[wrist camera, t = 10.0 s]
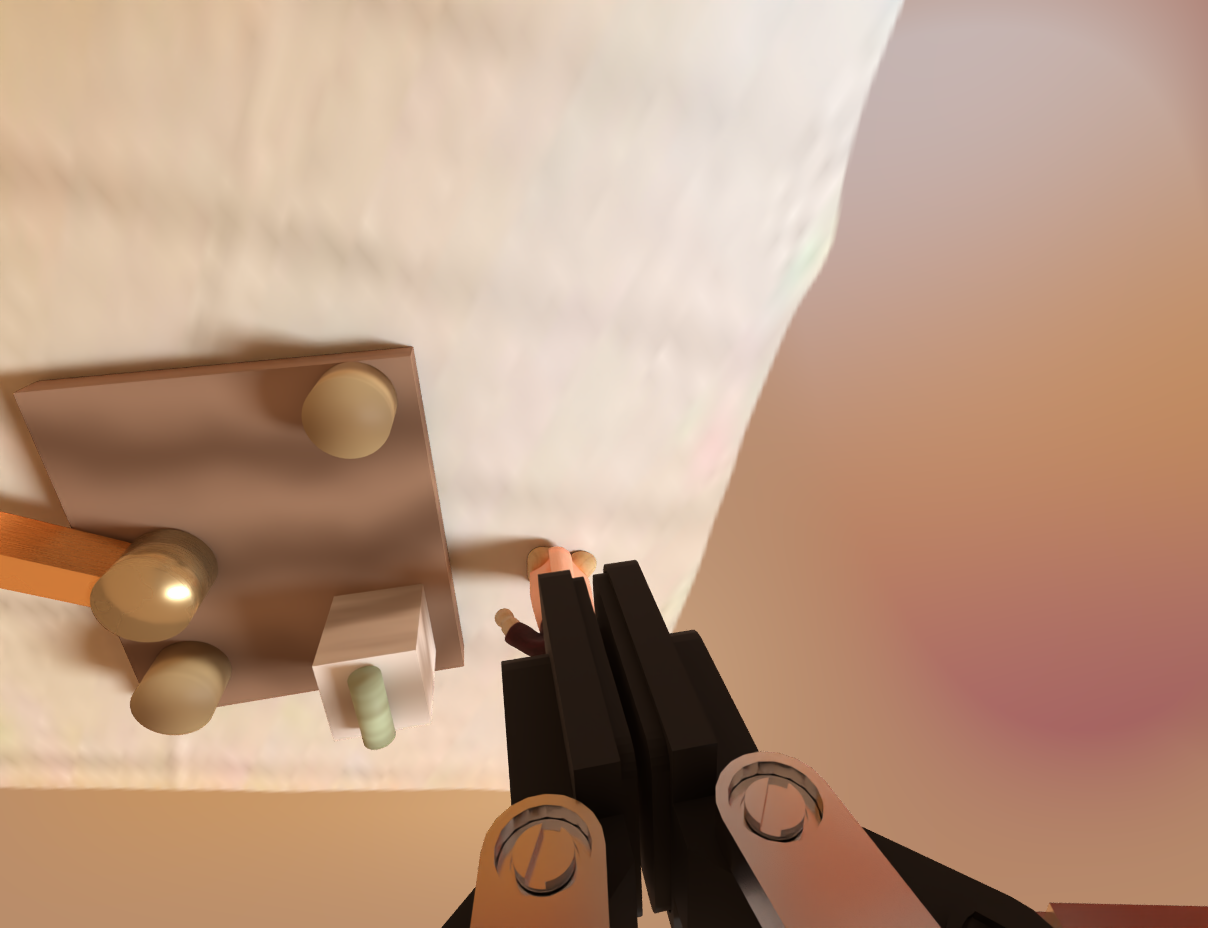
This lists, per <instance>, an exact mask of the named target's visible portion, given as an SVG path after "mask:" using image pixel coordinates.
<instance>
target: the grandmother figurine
mask: <svg viewBox="0 0 1208 928" xmlns="http://www.w3.org/2000/svg"><path fill="white" fill-rule="evenodd" d="M595 568H596V559H595V557H594V556H593V555H592V554H590V553H588V552H584V551H579V552H575V553H573V554H572V555H571V554H570V553H569V551H568V550H566V549H564V548H562V547H551V548H549V547H538V548H535V549H533V550H532V551H531V552H530V553H529V555H528V559H527V576H528V579H529V581H530V597H531V602H532V607H533V611H534V614H535V618H536V621H537V625H538V628H539V631H540V633H537V632H536V631H535V630H533V629H532V628H531V627H529V626H527V625H525V624H523V623H521V622H519V621H518V620H517V619H516V618H514V615H513V613H512V612H511V611H510V610H509V609H505V608H504V609H500V610H499V611H498V612H497V613H496V615H495V621H496V623H497V625H498V626H500V627H501V628H502V632H503V633H504V634H505V641H506V642H507V643H508V644H509V645H511V646H513V647H515V648H517V649H518V650H520V651H522V652H523V653H525V654H527V655H529V656H537V655H543V654H546V651H545V642H544V633H543V623H542V614H541V604H540V595H539V585H538V574H543V573H550V572H556V571H563V570H570V572H571V575H572V578H575V577H582V576H583V577H584V579H585V582H586V585H587V589H588V592H589V596H590V599H591V603H592V606H593V609H594V613H595V608H594V603H593V598H592V591H591V586H590V582H589V579H588V577H589V576H590V575H591V574H592V573H593V572H594V570H595Z"/></svg>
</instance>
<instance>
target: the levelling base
mask: <svg viewBox="0 0 1208 928" xmlns="http://www.w3.org/2000/svg"><path fill="white" fill-rule="evenodd" d="M13 395H14V397H15V400H16V402H17V404H18V407H19V409H20V411H21V413H22V416H23V418H24V420H25V423H26V425H27V427H28V429H29V432H30V434H31V436H32V439H33V441H34V443H35V446H36V448H37V450H38V452H39V455H40V457H41V459H42V462H43V464H44V466H45V468H46V471H47V473H48V475H49V478H50V480H51V482H52V484H53V487H54V489H55V491H56V494H57V496H58V498H59V500H60V503H61V505H62V507H63V510H64V512H65V514H66V517H67V519H68V521H69V523H70V526H71V528H72V529H75V530H79V531H83V532H87V533H91V534H96V535H100V536H104V537H108V538H112V539H116V540H120V541H125V542H129V543H132V542H133V541H134V540H135V539H136V538H138V537H139V536H141V535H143V534H145V533H147V532H150V531H154V530H161V529H171V530H178V531H183V532H186V533H189V534H191V535H193V536H195V537H197V538H199V539H200V540H202V541H203V542H204V543H205V544H206V545H207V546H208V547H209V548H210V549H211V550H212V552H213V553H214V555H215V557H216V560H217V564H218V574H217V578H216V580H215V582H214V584H213V585H212V587H211V589H210V590H209V592H208V593H207V595H206V597H205V598H204V600H203V602H202V603H201V605H200V606H199V608H198V610H197V611H196V613H195V615H194V616H193V618H192V619H191V621H190V623H189V624H188V626H187V627H186V628H185V629H184V630H183V631H182V632H181V633H179V634H178V635H176V636H174V637H172V638H169V639H166V640H163V641H158V642H137V641H132V640H128V639H125V638H122V637H120V636H119V638H120V640H121V643H122V645H123V647H124V649H125V652H126V654H127V656H128V659H129V661H130V663H131V665H132V668H133V670H134V672H135V675H136V677H137V679H138V681H139V685H138V687H137V688H136V690H135V692H134V693H133V695H132V697H131V701H130V708H131V712H132V714H133V716H134V717H135V719H136V720H137V721H138V722H139V723H140V724H141V725H143V726H144V727H146V728H147V729H149V730H152V731H154V732H157V733H161V734H166V735H183V734H188V733H191V732H194V731H197V730H199V729H200V728H202V727H203V726H205V725H206V724H207V723H208V722H209V721H210V719H211V718H212V715H213V713H214V711H215V709H216V707H220V706H226V705H232V704H238V703H244V702H250V701H256V700H262V699H268V698H274V697H280V696H286V695H292V694H298V693H304V692H310V691H316V690H319V692H320V695H321V698H322V702H323V705H324V709H325V712H326V716H327V719H328V722H329V726H330V729H331V733H332V736H333V739H334V741H339V740H344V739H350V738H356V737H361V736H362V739H363V743H364V745H365V747H366V748H368V749H371V750H377V749H381V748H384V747H386V746H387V745H389V744H390V743H391V742H392V741H393V740H394V738H395V735H396V731H395V730H401V729H406V728H412V727H418V726H423V725H429V724H431V722H432V706H433V690H434V674H435V671H438V670H444V669H450V668H456V667H462V666H464V643H463V637H462V632H461V626H460V620H459V614H458V608H457V602H456V596H455V590H454V584H453V579H452V573H451V567H450V561H449V555H448V549H447V543H446V537H445V531H444V526H443V520H442V514H441V508H440V502H439V496H438V490H437V484H436V478H435V473H434V467H433V461H432V455H431V449H430V443H429V437H428V431H427V425H426V420H425V414H424V408H423V402H422V396H421V390H420V384H419V378H418V372H417V367H416V361H415V355H414V349H413V347H406V348H395V349H384V350H373V351H362V352H351V353H340V354H329V355H318V356H307V357H296V358H285V359H274V360H263V361H252V362H241V363H230V364H219V365H208V366H197V367H186V368H175V369H164V370H153V371H142V372H131V373H121V374H110V375H99V376H88V377H77V378H66V379H55V380H44V381H37V382H35V383H33V384H31V385H29V386H27V387H24V388H22V389H20V390H18V391H16V392H14V393H13Z"/></svg>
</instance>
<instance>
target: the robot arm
mask: <svg viewBox="0 0 1208 928" xmlns="http://www.w3.org/2000/svg"><path fill="white" fill-rule="evenodd" d="M538 585H539V595H540V604H541V614H542V623H543V633H544V642H545V651H546V654H543V655H537V656H531V657H525V658H519V659H513V660H507V661H501V667H502V682H503V696H504V709H505V723H506V737H507V751H508V765H509V779H510V792H511V806H510V807H509V808H508V809H507V810H506V811H504V812H503V813H502V814H501V815H500V816H499V817H498V818H497V819H496V820H495V821H494V823H493V825H492V826H491V827H490V829H489V830H488V832H487V834H486V836H485V839H484V842H483V846H482V849H481V852H480V860H479V867H478V874H477V881H476V887H475V888H474V889H473V891H472V892H471V893H470V894H469V895H468V897H467V898H466V899H465V900H464V901H463V903H462V904H461V905H460V906H459V907H458V909H457V910H456V911H455V912H454V914H453V915H452V916H451V917H450V918H449V919H448V921H447V922H446V923H445V924H444V925H443V926H442V928H638V923H637V917H641V916H642V884H641V868H642V872H643V876H644V880H645V884H646V887H647V891H648V896H649V899H650V903H651V907H652V910H653V912H654V913H659V912H663V911H667V914H668V917H669V921H670V924H671V928H1208V906H1173V905H1172V906H1171V905H1130V904H1088V903H1087V904H1086V903H1049V905H1048V908H1047V910H1046V912H1035V911H1034V910H1032V909H1031V908H1029V907H1027V906H1026V905H1024V904H1022V903H1021V902H1019V901H1017V900H1016V899H1014V898H1012V897H1010V896H1008V895H1006V894H1004V893H1002V892H1000V891H998V890H996V889H994V888H991V887H989V886H987V885H985V884H983V883H981V882H979V881H977V880H974V879H972V878H970V877H968V876H966V875H964V874H962V873H959V872H957V871H955V870H953V869H951V868H949V867H947V866H945V865H942V864H940V863H938V862H936V861H934V860H932V859H930V858H928V857H925V856H923V855H921V854H919V853H917V852H915V851H913V850H910V849H908V848H906V847H904V846H902V845H900V844H898V843H895V842H893V841H891V840H889V839H887V838H885V837H883V836H881V835H878V834H876V833H874V832H872V831H870V830H868V829H866V828H863V827H861V826H860V824H859V823H858V822H857V821H856V819H855V818H854V817H853V816H852V814H851V813H850V812H849V810H848V809H847V808H846V807H845V805H844V804H843V803H842V801H841V800H840V799H839V798H838V797H837V795H836V794H835V793H834V792H833V790H832V789H831V788H830V786H829V785H828V784H827V782H826V781H825V780H824V779H823V778H822V777H821V776H820V775H819V774H818V773H817V772H816V771H815V770H814V769H813V768H812V767H810V766H808V765H806V764H805V763H803V762H801V761H800V760H798V759H796V758H793V757H790V756H787V755H784V754H781V753H775V752H761V751H760V752H759V751H758V749H757V747H756V745H755V743H754V741H753V739H752V737H751V735H750V733H749V731H748V729H747V727H746V725H745V723H744V721H743V719H742V717H741V716H740V714H739V712H738V709H737V708H736V706H735V704H734V702H733V700H732V698H731V696H730V694H729V692H728V690H727V688H726V686H725V684H724V682H723V680H722V678H721V676H720V674H719V672H718V670H717V668H716V666H715V664H714V662H713V660H712V658H711V656H710V654H709V652H708V650H707V648H706V646H705V644H704V643H703V641H702V638H701V637H700V635H699V634H698V632H696V631H695V630H689V631H683V632H677V633H670V634H669V632H668V629H667V627H666V625H665V622H664V620H663V618H662V616H661V613H660V611H659V609H658V607H657V604H656V602H655V600H654V598H653V595H652V593H651V591H650V589H649V586H648V584H647V582H646V580H645V577H644V575H643V573H642V571H641V568H640V566H639V564H638V562H637V561H636V560H631V561H625V562H618V563H611V564H604V569H603V573H602V574H595V575H593V593H594V608H595V613H594V609H593V606H592V603H591V599H590V596H589V592H588V589H587V585H586V582H585V579H584V577H583V576H582V577H575V578H572V575H571V572H570V570H563V571H556V572H550V573H543V574H538Z"/></svg>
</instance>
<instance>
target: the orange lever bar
mask: <svg viewBox="0 0 1208 928" xmlns="http://www.w3.org/2000/svg"><path fill="white" fill-rule="evenodd" d="M217 574H218V564H217V560H216V557H215V555H214V553H213V552H212V550H211V549H210V548H209V547H208V546H207V545H206V544H205V543H204V542H203V541H202V540H200V539H199V538H197V537H195V536H193V535H191V534H189V533H186V532H183V531H178V530H171V529H161V530H154V531H150V532H147V533H145V534H143V535H141V536H139V537H138V538H136V539H135V540H134V541H133V542H132V543H129V542H125V541H120V540H116V539H112V538H108V537H104V536H100V535H96V534H91V533H87V532H83V531H79V530H75V529H71V528H67V527H63V526H58V525H54V524H50V523H46V522H42V521H38V520H34V519H29V518H25V517H21V516H17V515H13V514H9V513H5V512H0V588H2V589H7V590H12V591H17V592H21V593H26V594H31V595H36V596H40V597H45V598H50V599H55V600H60V601H64V602H69V603H74V604H79V605H83V606H88V607H91V609H92V612H93V614H94V616H95V617H96V619H97V620H98V621H99V623H100V624H101V625H102V626H103V627H105V628H106V629H107V630H109V631H110V632H112V633H113V634H115V635H117V636H120V637H122V638H125V639H128V640H132V641H137V642H158V641H163V640H166V639H169V638H172V637H174V636H176V635H178V634H179V633H181V632H182V631H183V630H184V629H185V628H186V627H187V626H188V624H189V623H190V621H191V619H192V618H193V616H194V615H195V613H196V611H197V610H198V608H199V606H200V605H201V603H202V602H203V600H204V598H205V597H206V595H207V593H208V592H209V590H210V589H211V587H212V585H213V584H214V582H215V580H216V578H217Z"/></svg>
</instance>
